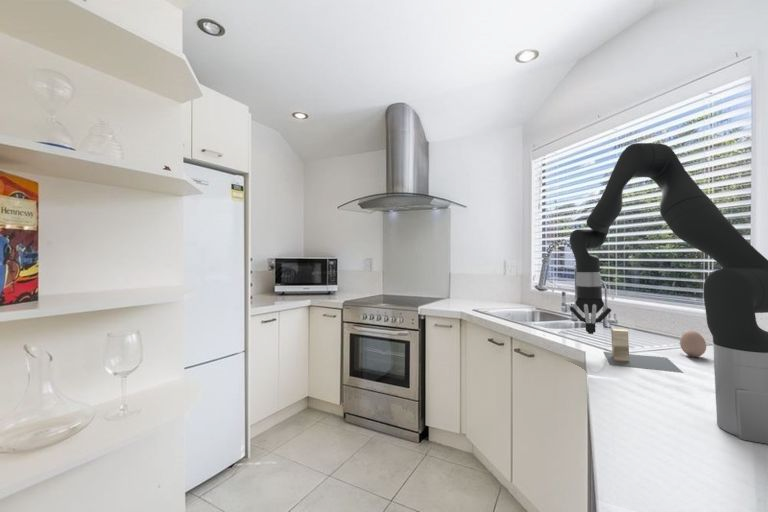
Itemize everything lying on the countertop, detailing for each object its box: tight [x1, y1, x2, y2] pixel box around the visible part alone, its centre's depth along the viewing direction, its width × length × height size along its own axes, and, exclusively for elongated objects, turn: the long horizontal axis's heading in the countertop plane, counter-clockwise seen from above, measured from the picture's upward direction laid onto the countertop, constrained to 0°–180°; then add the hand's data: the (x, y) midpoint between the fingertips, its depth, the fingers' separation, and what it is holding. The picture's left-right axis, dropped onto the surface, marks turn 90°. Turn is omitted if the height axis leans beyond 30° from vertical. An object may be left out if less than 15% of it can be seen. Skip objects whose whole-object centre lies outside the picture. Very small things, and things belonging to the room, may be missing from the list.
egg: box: [679, 329, 707, 358], centre depth 110 cm, size 7×7×9 cm
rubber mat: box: [603, 351, 684, 374], centre depth 105 cm, size 16×18×1 cm
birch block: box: [610, 327, 630, 362], centre depth 107 cm, size 5×4×10 cm
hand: (590, 333), depth 111 cm, fingers closed
